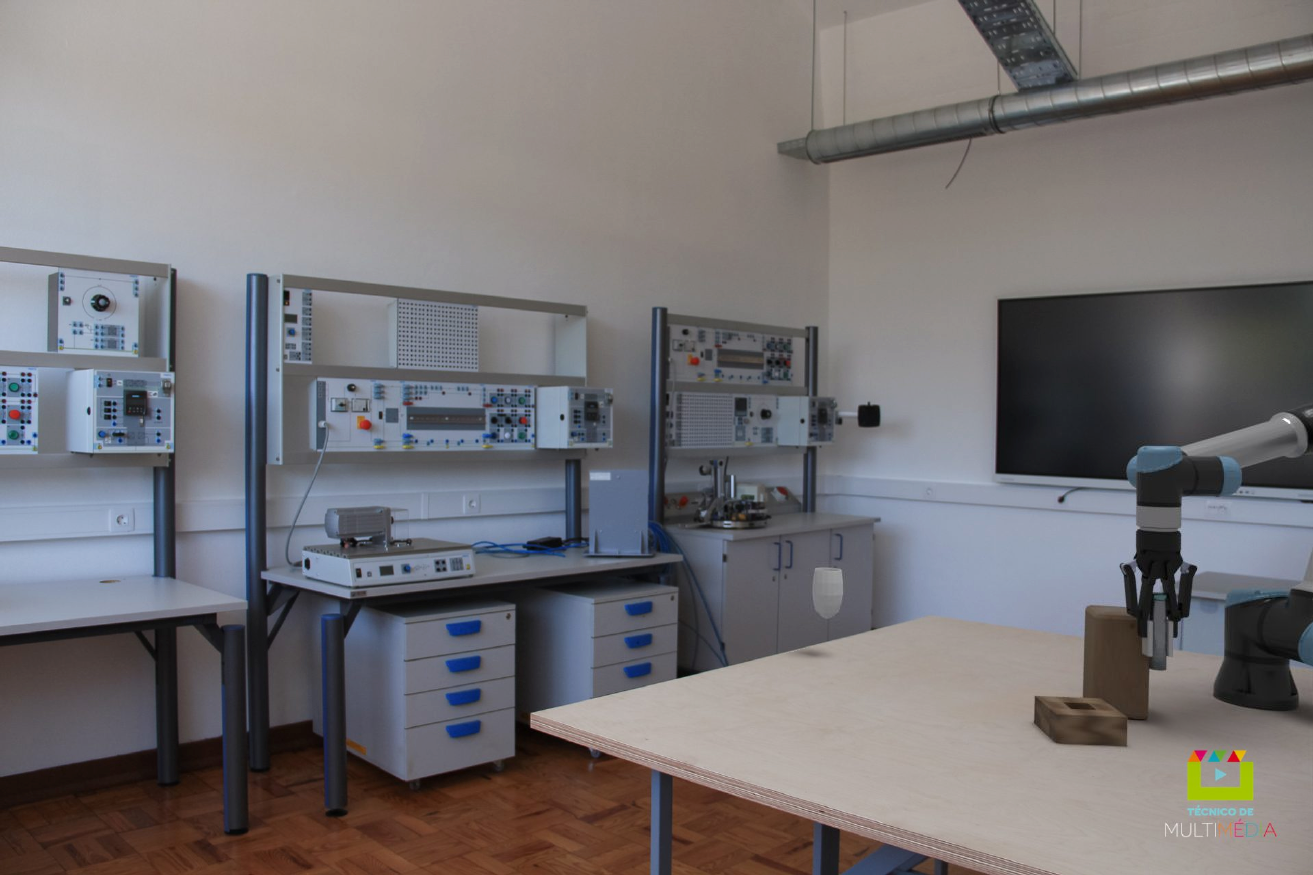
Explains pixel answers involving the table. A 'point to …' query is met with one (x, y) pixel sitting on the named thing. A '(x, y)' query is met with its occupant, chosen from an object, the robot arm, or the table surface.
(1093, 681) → the wooden block
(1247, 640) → the robot arm
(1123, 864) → the table surface
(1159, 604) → the peg
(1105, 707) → the socket block
